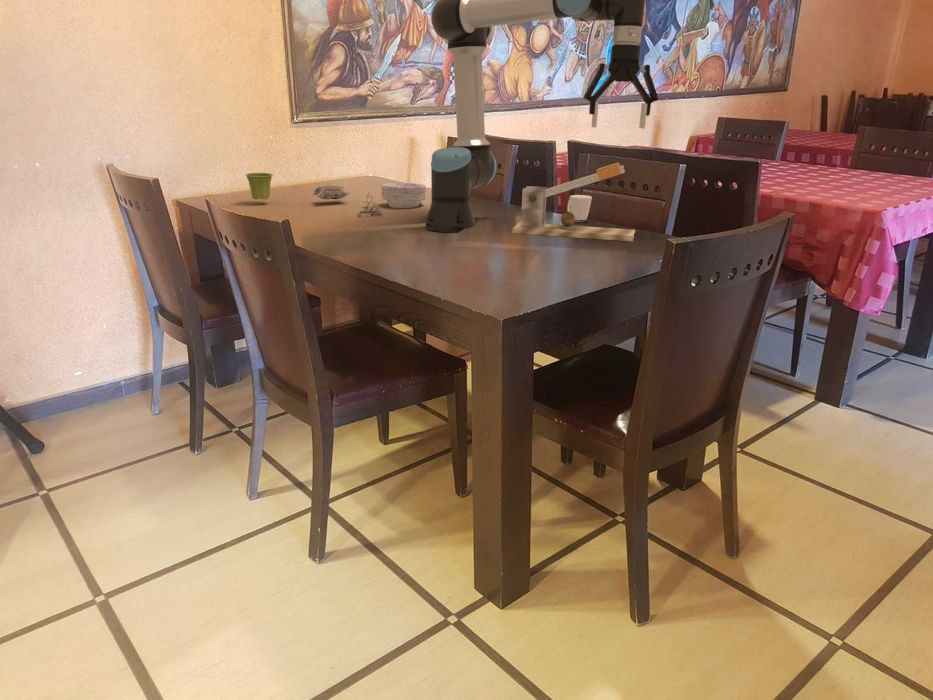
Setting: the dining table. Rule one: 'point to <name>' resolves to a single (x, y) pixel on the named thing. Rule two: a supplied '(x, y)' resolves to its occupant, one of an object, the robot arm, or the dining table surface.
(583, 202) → the cup
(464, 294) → the dining table surface
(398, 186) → the paper bowls
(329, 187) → the packaged food
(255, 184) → the plant pot
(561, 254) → the dining table surface
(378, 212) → the house of cards
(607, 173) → the lever
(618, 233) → the press base
